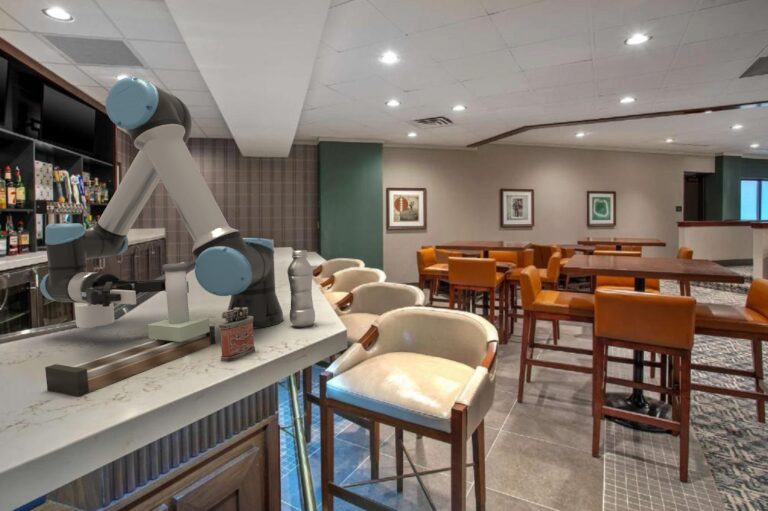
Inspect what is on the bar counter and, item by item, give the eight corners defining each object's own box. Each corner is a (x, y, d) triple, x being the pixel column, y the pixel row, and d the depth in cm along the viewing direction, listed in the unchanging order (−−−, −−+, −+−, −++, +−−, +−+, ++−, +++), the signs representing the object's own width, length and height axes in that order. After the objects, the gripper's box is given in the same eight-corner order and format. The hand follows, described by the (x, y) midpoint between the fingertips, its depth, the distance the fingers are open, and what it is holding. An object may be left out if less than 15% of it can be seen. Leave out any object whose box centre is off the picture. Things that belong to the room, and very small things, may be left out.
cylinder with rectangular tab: (74, 329, 111) (70, 285, 110) (78, 322, 119) (74, 281, 118) (113, 324, 116) (110, 282, 114) (115, 318, 123) (112, 278, 122)
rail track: (189, 340, 97) (188, 323, 97) (215, 343, 95) (214, 326, 94) (47, 390, 70) (45, 367, 69) (78, 396, 67) (76, 372, 66)
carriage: (179, 328, 95) (174, 262, 94) (209, 331, 92) (205, 262, 91) (148, 338, 88) (143, 266, 87) (180, 341, 85) (175, 266, 83)
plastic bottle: (310, 329, 105) (307, 251, 103) (285, 328, 106) (281, 251, 104) (319, 323, 111) (316, 249, 109) (295, 322, 112) (292, 249, 110)
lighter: (247, 349, 90) (245, 303, 89) (258, 350, 88) (256, 305, 87) (217, 360, 83) (214, 311, 82) (229, 362, 81) (226, 313, 80)
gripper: (144, 294, 110) (206, 298, 102) (38, 315, 87) (108, 322, 79) (142, 266, 109) (204, 268, 102) (35, 280, 86) (105, 283, 79)
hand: (162, 292), depth 90 cm, fingers open, 13 cm apart
